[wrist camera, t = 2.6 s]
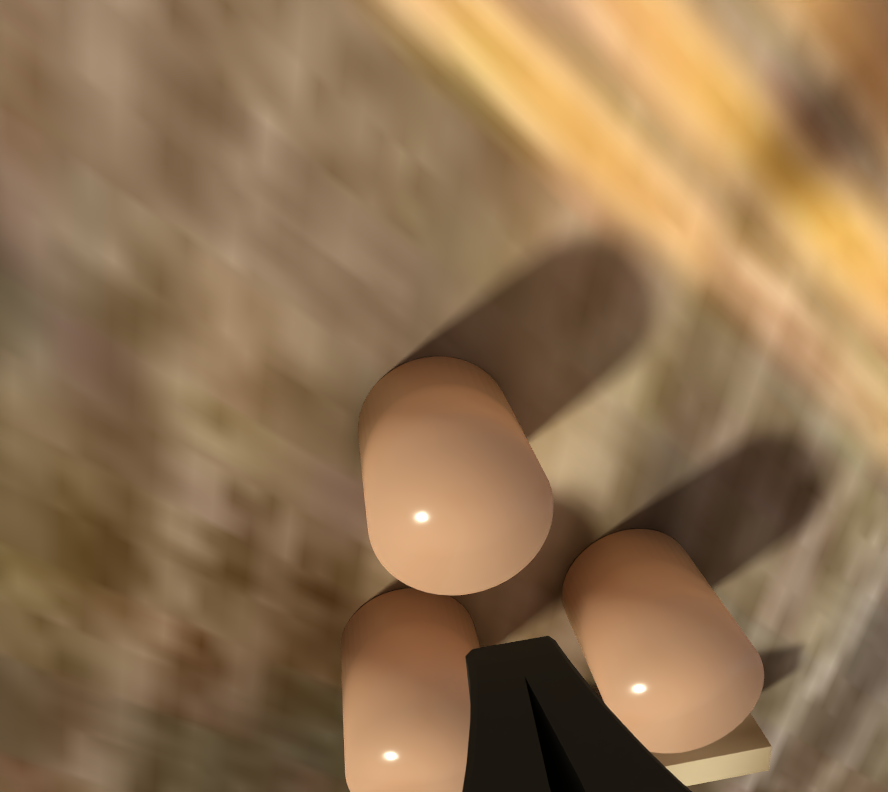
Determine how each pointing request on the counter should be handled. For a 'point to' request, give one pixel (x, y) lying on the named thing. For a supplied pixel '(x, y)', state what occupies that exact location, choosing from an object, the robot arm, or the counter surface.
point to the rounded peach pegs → (495, 561)
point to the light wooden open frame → (722, 756)
